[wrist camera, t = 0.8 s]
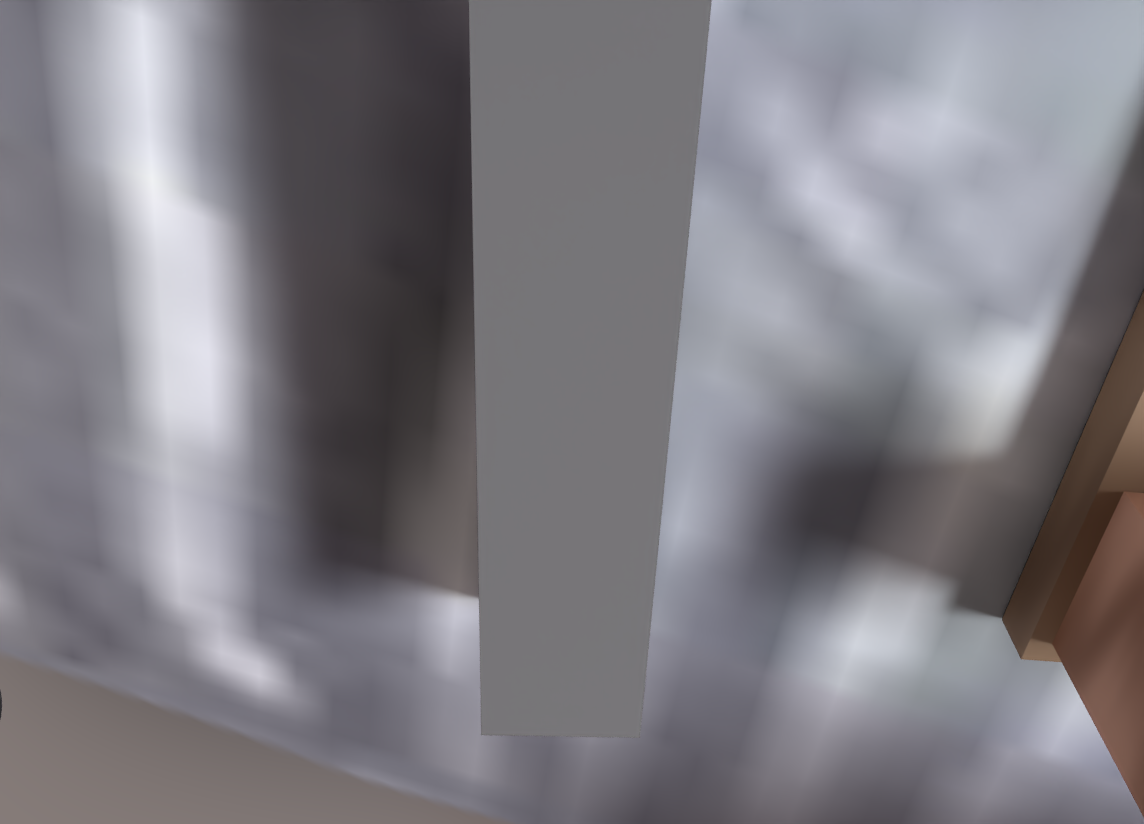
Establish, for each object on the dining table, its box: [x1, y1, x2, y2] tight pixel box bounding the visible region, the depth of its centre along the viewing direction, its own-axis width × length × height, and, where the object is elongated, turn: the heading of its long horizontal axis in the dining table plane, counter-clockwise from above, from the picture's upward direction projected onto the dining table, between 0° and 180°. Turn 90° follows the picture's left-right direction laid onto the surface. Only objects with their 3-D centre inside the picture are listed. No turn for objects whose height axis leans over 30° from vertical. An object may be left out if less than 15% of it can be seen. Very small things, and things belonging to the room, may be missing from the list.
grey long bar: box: [469, 0, 712, 738], centre depth 17 cm, size 20×3×4 cm, turn 178°
